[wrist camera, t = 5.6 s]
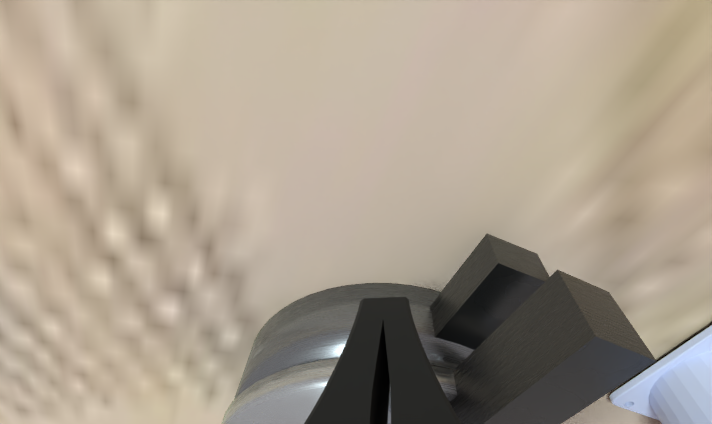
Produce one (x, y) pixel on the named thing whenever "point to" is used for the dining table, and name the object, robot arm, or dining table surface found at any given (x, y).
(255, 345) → the cooker pot
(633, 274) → the dining table surface
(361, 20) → the dining table surface
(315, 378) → the cooker lid
